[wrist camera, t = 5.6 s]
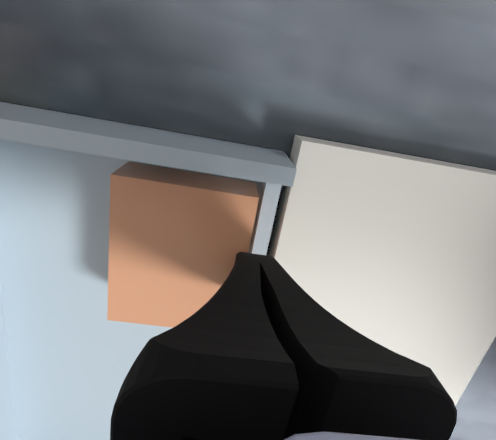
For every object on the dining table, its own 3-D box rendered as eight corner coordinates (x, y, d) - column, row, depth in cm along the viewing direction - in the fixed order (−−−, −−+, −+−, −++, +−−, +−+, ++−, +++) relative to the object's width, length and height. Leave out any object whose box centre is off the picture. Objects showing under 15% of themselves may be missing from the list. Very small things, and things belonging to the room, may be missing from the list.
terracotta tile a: (255, 182, 13) (259, 197, 11) (232, 304, 15) (231, 334, 13) (128, 161, 13) (110, 174, 11) (123, 290, 15) (107, 320, 13)
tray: (283, 151, 13) (296, 168, 10) (213, 475, 21) (209, 536, 18) (-35, 95, 12) (-117, 98, 9) (15, 461, 19) (-22, 524, 17)
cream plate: (545, 179, 14) (580, 190, 12) (378, 493, 22) (388, 520, 21) (295, 134, 13) (302, 140, 11) (216, 482, 21) (214, 510, 19)
